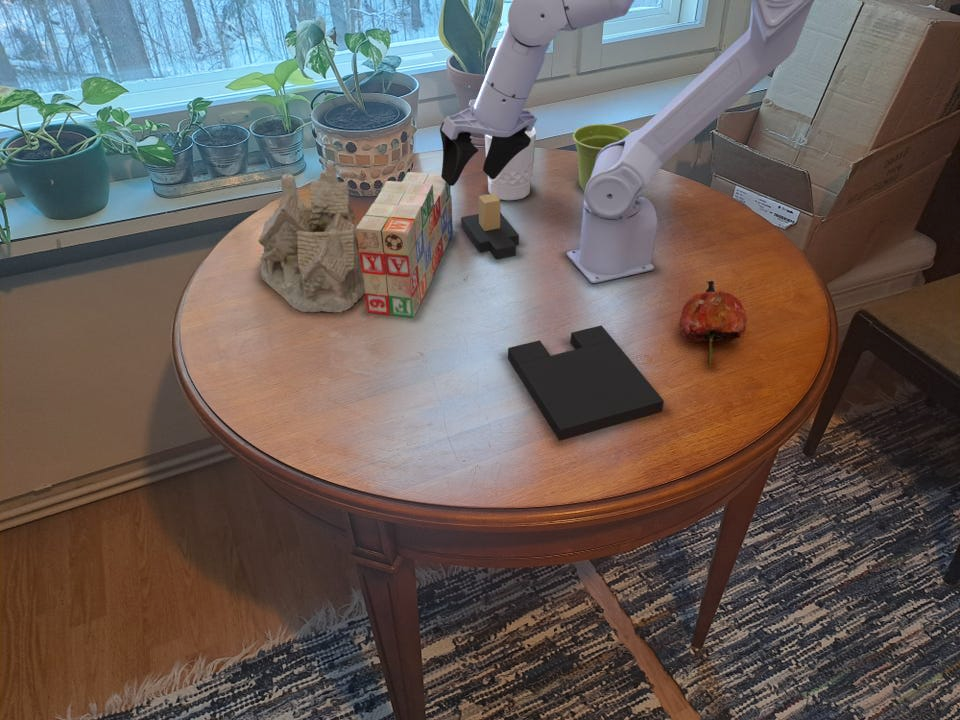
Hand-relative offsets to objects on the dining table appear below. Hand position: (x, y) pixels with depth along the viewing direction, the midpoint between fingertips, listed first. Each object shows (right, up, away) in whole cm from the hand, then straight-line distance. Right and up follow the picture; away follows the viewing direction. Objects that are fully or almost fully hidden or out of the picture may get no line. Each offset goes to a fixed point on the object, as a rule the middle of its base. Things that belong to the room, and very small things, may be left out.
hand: (468, 177), depth 95 cm
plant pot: (+21, +4, +20) cm, 29 cm away
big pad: (+13, -27, -16) cm, 34 cm away
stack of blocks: (-8, -12, +2) cm, 15 cm away
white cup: (+6, +3, +20) cm, 21 cm away
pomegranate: (+28, -23, -11) cm, 38 cm away
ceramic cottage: (-21, -13, +1) cm, 25 cm away
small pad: (+3, -7, +8) cm, 11 cm away
